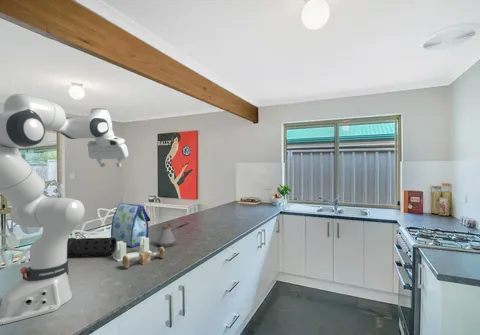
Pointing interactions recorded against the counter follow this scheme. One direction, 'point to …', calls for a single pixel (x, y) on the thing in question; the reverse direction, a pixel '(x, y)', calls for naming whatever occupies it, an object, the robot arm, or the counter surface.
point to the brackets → (143, 248)
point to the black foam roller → (91, 246)
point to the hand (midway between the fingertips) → (111, 166)
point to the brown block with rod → (143, 257)
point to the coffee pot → (168, 235)
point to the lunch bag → (129, 224)
